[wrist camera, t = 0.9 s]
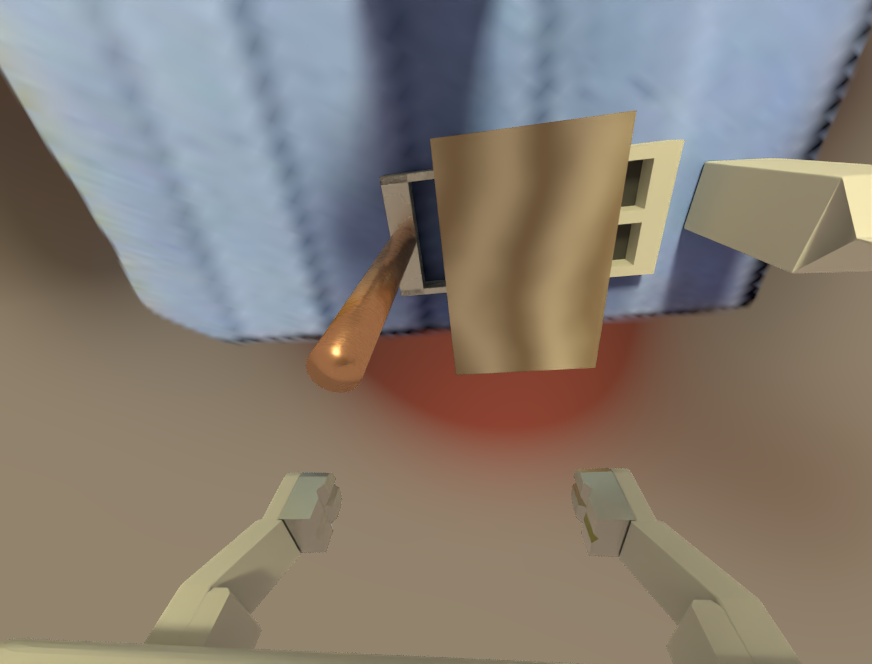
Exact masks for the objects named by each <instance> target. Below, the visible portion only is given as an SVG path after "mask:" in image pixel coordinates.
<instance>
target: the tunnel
mask: <svg viewBox="0 0 872 664" xmlns="http://www.w3.org/2000/svg"><path fill="white" fill-rule="evenodd" d="M635 116H636V111H629V112H622V113H614V114H607V115H600V116H593V117H585V118H578V119H571V120H563V121H556V122H549V123H542V124H534V125H527V126H520V127H512V128H505V129H498V130H491V131H483V132H476V133H469V134H462V135H454V136H447V137H440V138H432V139H430V143H431V152H432V161H433V170H434V179H435V189H436V198H437V207H438V216H439V225H440V234H441V243H442V252H443V262H444V271H445V280H446V289H447V298H448V307H449V316H450V326H451V335H452V344H453V353H454V361H455V371H456V375H462V374H463V375H465V374H484V373H502V372H519V371H539V370H558V369H577V368H595V365H596V359H597V352H598V347H599V340H600V334H601V328H602V322H603V316H604V309H605V303H606V297H607V291H608V284H609V278H610V272H611V266H612V259H613V253H614V247H615V241H616V234H617V228H618V222H619V216H620V210H621V203H622V197H623V191H624V185H625V178H626V172H627V166H628V160H629V153H630V147H631V141H632V135H633V129H634V122H635Z"/></svg>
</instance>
